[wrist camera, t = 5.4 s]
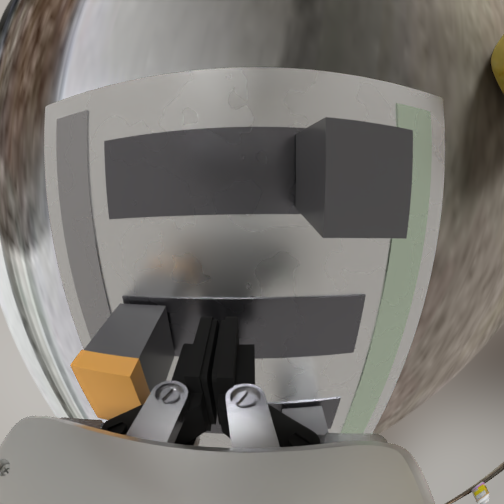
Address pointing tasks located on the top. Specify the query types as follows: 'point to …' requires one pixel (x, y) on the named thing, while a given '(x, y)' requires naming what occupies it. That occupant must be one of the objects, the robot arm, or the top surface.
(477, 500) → the supplement bottle
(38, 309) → the top surface
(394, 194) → the block
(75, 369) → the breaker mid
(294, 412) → the breaker far
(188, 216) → the panel
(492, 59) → the banana
